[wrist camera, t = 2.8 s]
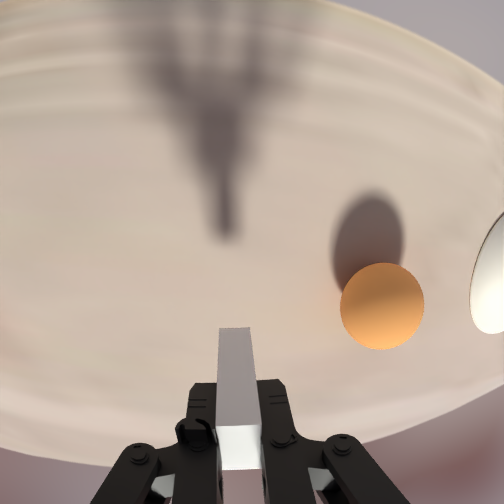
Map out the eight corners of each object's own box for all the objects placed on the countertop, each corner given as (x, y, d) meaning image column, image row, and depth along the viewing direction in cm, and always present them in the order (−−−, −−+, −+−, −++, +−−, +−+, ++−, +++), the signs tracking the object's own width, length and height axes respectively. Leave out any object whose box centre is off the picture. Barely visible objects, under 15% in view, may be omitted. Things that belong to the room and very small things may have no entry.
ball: (332, 253, 21) (365, 286, 15) (404, 250, 21) (448, 278, 16) (326, 326, 22) (351, 373, 17) (393, 318, 23) (428, 358, 17)
